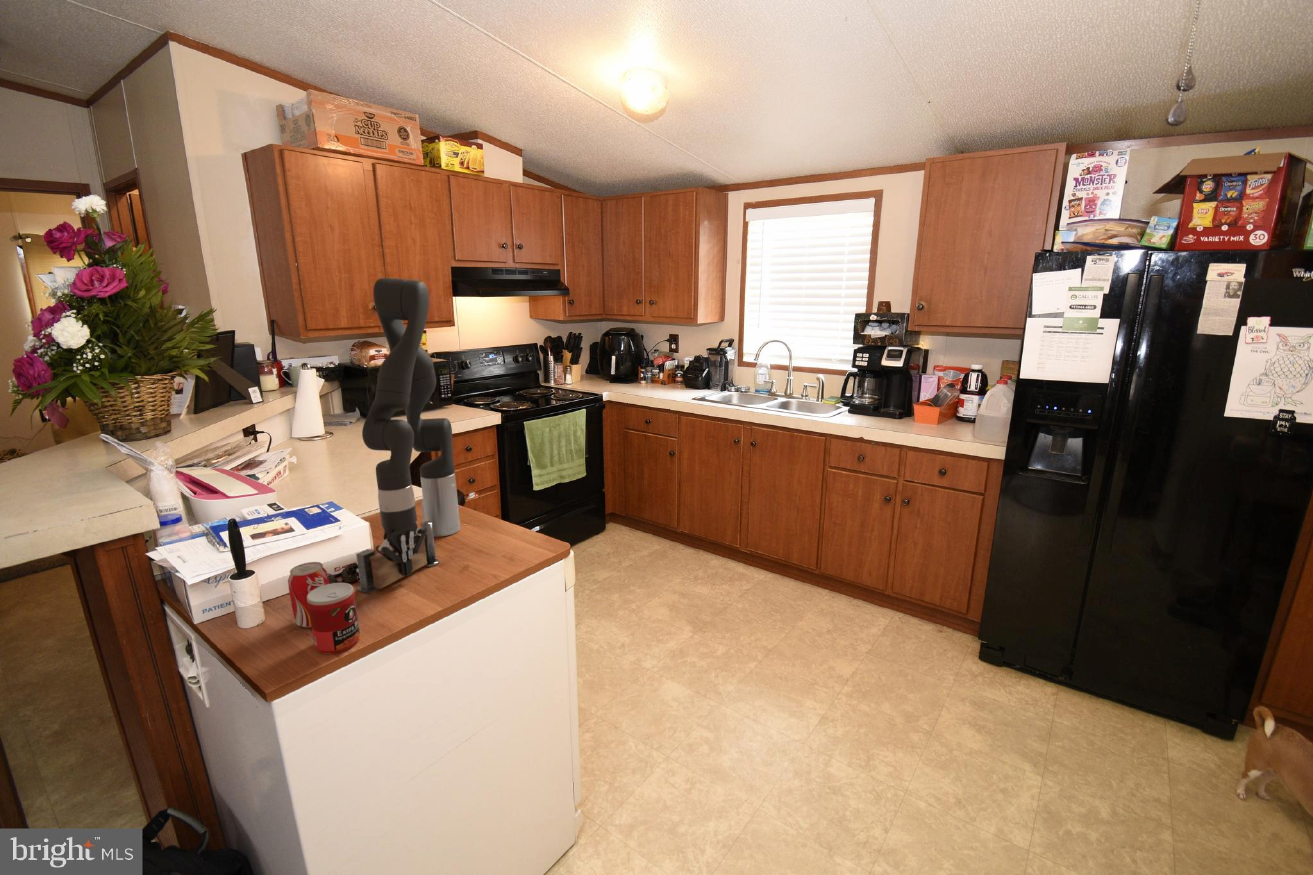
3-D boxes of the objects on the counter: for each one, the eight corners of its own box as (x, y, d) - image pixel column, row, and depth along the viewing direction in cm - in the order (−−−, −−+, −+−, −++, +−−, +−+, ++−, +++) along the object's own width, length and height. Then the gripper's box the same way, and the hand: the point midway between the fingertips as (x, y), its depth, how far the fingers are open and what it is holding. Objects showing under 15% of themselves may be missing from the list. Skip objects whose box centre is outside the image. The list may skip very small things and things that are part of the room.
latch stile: (356, 590, 130) (351, 554, 128) (373, 582, 134) (368, 547, 132) (367, 594, 128) (362, 557, 126) (384, 585, 132) (379, 550, 130)
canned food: (341, 657, 105) (333, 603, 103) (304, 652, 107) (295, 599, 104) (369, 634, 113) (362, 583, 110) (334, 630, 114) (327, 580, 112)
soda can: (306, 634, 113) (297, 579, 110) (288, 624, 117) (278, 570, 114) (341, 617, 119) (333, 565, 116) (323, 608, 122) (314, 557, 120)
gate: (421, 562, 142) (418, 534, 141) (428, 563, 141) (425, 535, 140) (373, 587, 129) (369, 557, 128) (380, 589, 129) (376, 559, 127)
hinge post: (418, 565, 143) (414, 524, 140) (431, 558, 146) (427, 518, 144) (430, 568, 141) (425, 526, 139) (442, 561, 144) (438, 521, 142)
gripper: (385, 516, 122) (395, 590, 126) (431, 498, 134) (439, 565, 138) (360, 512, 125) (371, 584, 129) (408, 494, 137) (416, 560, 141)
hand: (406, 574), depth 133 cm, fingers closed
